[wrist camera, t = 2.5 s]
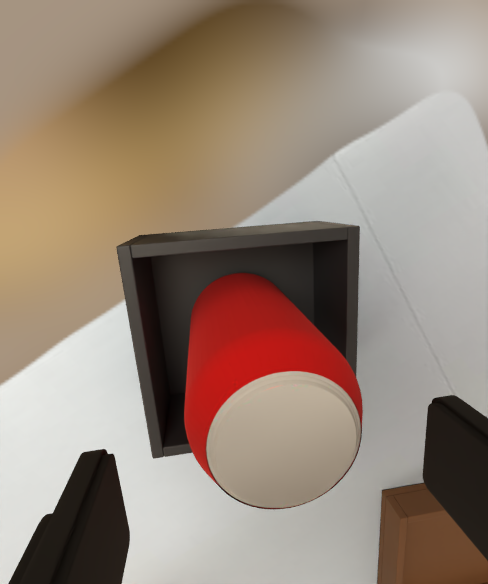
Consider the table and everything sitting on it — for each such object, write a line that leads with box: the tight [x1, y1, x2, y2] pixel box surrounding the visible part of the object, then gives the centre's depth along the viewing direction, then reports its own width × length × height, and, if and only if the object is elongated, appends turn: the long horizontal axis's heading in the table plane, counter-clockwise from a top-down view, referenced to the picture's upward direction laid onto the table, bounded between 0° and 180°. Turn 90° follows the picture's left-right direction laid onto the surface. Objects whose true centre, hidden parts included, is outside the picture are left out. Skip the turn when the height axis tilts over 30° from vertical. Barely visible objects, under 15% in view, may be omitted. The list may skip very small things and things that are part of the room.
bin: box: [117, 221, 360, 458], centre depth 19 cm, size 11×11×6 cm
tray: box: [377, 483, 488, 584], centre depth 29 cm, size 15×13×3 cm
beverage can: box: [184, 273, 363, 509], centre depth 15 cm, size 6×6×12 cm
